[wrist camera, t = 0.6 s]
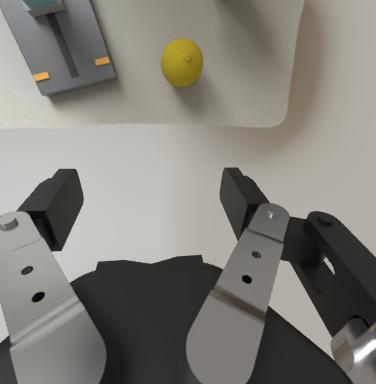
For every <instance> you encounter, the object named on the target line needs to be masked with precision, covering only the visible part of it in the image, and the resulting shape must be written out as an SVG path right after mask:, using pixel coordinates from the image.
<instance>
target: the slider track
mask: <svg viewBox="0 0 376 384" xmlns="http://www.w3.org/2000/svg"><path fill="white" fill-rule="evenodd" d="M62 1H63V3H64V6H65V8H66V10H62V11H57V12H53V13H48V14H44V15H39V16H35V17H32V16H31V15H30V14H29V13H27V12H26V10H25V8H24V5H23V3H22V1H21V0H0V9H1V11H2V13H3V15H4V17H5V19H6V21H7V23H8V25H9V27H10V30H11V32H12V34H13V36H14V38H15V40H16V42H17V44H18V46H19V48H20V51H21V53H22V55H23V57H24V59H25V61H26V63H27V65H28V67H29V69H30V71H31V74H32V76H33V78H34V80H35V82H36V84H37V86H38V88H39V90H40V92H41V95H44V96H52V95H55V94H59V93H63V92H67V91H71V90H74V89H78V88H82V87H86V86H90V85H94V84H97V83H101V82H105V81H109V80H113V79H116V78H117V77H116V74H115V71H114V68H113V66H112V63H111V60H110V57H109V54H108V51H107V48H106V45H105V42H104V40H103V37H102V34H101V31H100V28H99V25H98V22H97V19H96V16H95V14H94V11H93V8H92V5H91V2H90V0H62Z"/></svg>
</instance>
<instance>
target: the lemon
mask: <svg viewBox="0 0 376 384" xmlns="http://www.w3.org/2000/svg"><path fill="white" fill-rule="evenodd" d="M161 66H162V71H163V74H164V76H165V78H166V79H167V80H168V81H169V82H170V83H171V84H172V85H174V86H177V87H187V86H190V85H191V84H193V83H194V82H195V81H196V80H197V79H198V78H199V76H200V74H201V72H202V68H203V57H202V53H201V50H200V49H199V47H198V46H197V45H196V44H195V43H194V42H193V41H191V40H189V39H184V38H182V39H177V40H174V41H172V42H171V43H170V44H169V45H168V46H167V47H166V49H165V50H164V52H163V55H162V61H161Z"/></svg>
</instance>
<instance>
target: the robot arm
mask: <svg viewBox="0 0 376 384" xmlns="http://www.w3.org/2000/svg"><path fill="white" fill-rule="evenodd" d="M83 198H84V197H83V191H82V188H81V184H80V180H79V176H78V172H77V171H76V169H59V170H58V171H57V172H56V173H55V174H54V176H53V177H52V178H48V179H47V180H45V181H43V182H42V183H40V184H39V185H38V186H37V187H36V188H35V190H34V191H33V192H32V193H31V194H30V196H29V197H28V198H27V199H26V200H25V201H24V203H23V204H22V205H21V206H20V207H19V209H18V210H17V211H16V212H10V213H6V214H3V215H1V216H0V303H1V307H2V311H3V314H4V318H5V321H6V325H7V329H8V332H9V336H8V337H7V338H5V339H4V340H3V341H2V342H1V343H0V384H376V257H375V256H374V255H373V254H372V253H371V252H370V251H369V250H368V249H367V248H366V247H365V246H364V245H363V244H362V243H361V242H360V241H359V240H358V239H357V238H356V237H355V236H354V235H353V234H352V233H351V232H350V231H349V230H348V229H347V228H346V227H345V226H344V225H343V224H342V223H341V222H340V221H339V220H338V219H337V218H335V217H334V216H332V215H330V214H327V213H324V212H319V211H314V212H311V213H309V215H308V217H307V219H301V218H296V217H290V216H289V213H288V212H287V211H286V210H285V209H284V208H283V207H281V206H279V205H276V204H272V203H270V202H269V201H268V199H267V198H266V197H265V195H264V194H263V193H262V192H261V191H260V189H259V187H257V185H256V183H255V182H254V181H253V180H252V179H250V178H249V177H247V176H243V174H242V173H241V171H240V170H239V168H224V171H223V175H222V181H221V187H220V200H221V203H222V205H223V207H224V210H225V212H226V215H227V217H228V219H229V221H230V224H231V226H232V228H233V231H234V233H235V235H236V238H237V240H238V243H237V245H236V247H235V249H234V250H233V252H232V254H231V256H230V258H229V260H228V262H227V264H226V266H225V268H224V270H223V269H221V268H219V267H217V266H214V265H211V264H208V263H203V259H202V255H193V256H180V257H179V256H178V257H174V258H171V259H167V260H164V261H160V262H157V263H153V264H148V263H141V262H135V261H128V260H117V261H103V262H98V264H97V268H96V270H95V271H92V272H90V273H87V274H85V275H83V276H81V277H79V278H77V279H75V280H74V281H72V282H71V283H69V282H68V280H67V278H66V277H65V275H64V273H63V271H62V270H61V268H60V266H59V264H58V263H57V261H56V259H55V257H54V256H53V254H52V251H62V248H63V246H64V244H65V242H66V240H67V237H68V235H69V233H70V231H71V229H72V227H73V225H74V223H75V220H76V218H77V216H78V214H79V212H80V210H81V207H82V205H83V200H84V199H83ZM325 257H327V259H328V260H329V261H330V263H331V264H332V266H333V268H334V271H335V275H334V274H333V273H332V271H331V270H330V269H329V267H328V266H327V265H326V263H325V262H324V259H325ZM280 260H284V261H289V262H290V263H291V265H292V267H293V269H294V270H295V272H296V274H297V276H298V277H299V279H300V281H301V283H302V285H303V286H304V288H305V290H306V292H307V294H308V295H309V297H310V299H311V301H312V303H313V304H314V306H315V308H316V310H317V311H318V313H319V315H320V317H321V319H322V320H323V322H324V324H325V326H326V328H327V329H328V331H329V333H330V335H331V336H332V340H331V351H332V354H333V357H334V359H335V360H333V359H332V358H331V357H330V356H329V355H328V354H326V353H325V352H324V351H323V350H322V349H320V348H319V347H318V346H317V345H315V344H314V343H313V342H312V341H311V340H309V339H308V338H307V337H306V336H304V335H303V334H302V333H301V332H300V331H299V330H297V329H296V328H295V327H294V326H292V325H291V324H290V323H289V322H288V321H286V320H285V319H284V318H283V317H282V316H280V315H279V314H278V313H277V312H275V311H274V310H273V309H272V308H271V307H269V306H268V304H269V300H270V296H271V292H272V288H273V284H274V280H275V276H276V273H277V269H278V265H279V261H280Z"/></svg>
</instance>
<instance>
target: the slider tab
mask: <svg viewBox="0 0 376 384" xmlns="http://www.w3.org/2000/svg"><path fill="white" fill-rule="evenodd" d="M21 1H22V3H23V5H24V8H25V10H26V12H27V13H29V14H30V15H31V16H32V17H35V16H39V15H44V14H48V13H53V12H57V11H62V10H66V8H65V6H64V3H63V1H62V0H21Z"/></svg>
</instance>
